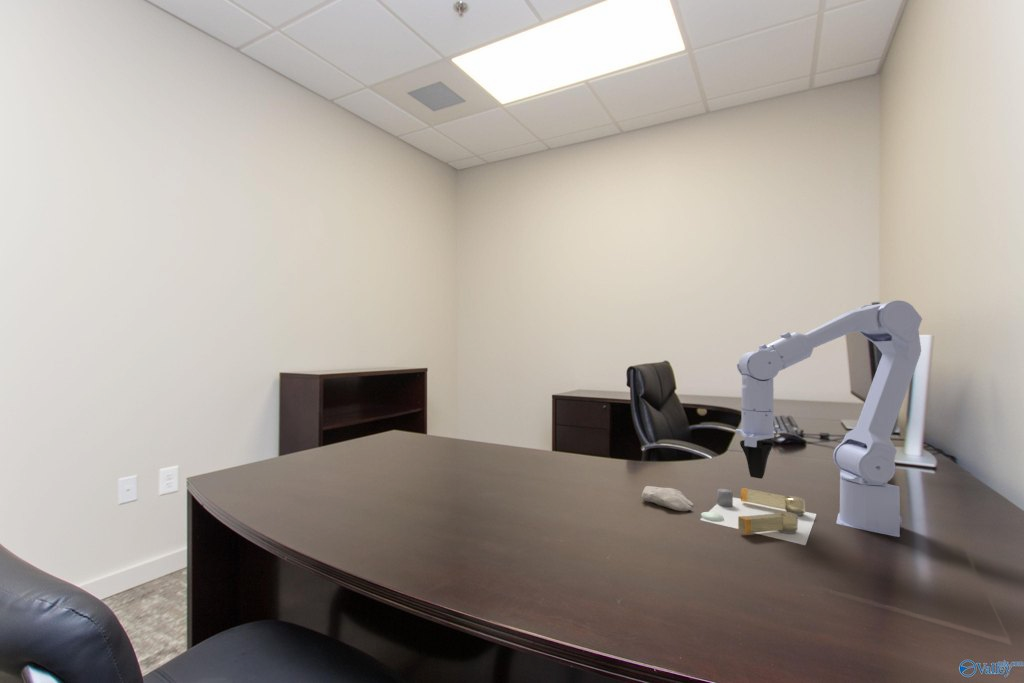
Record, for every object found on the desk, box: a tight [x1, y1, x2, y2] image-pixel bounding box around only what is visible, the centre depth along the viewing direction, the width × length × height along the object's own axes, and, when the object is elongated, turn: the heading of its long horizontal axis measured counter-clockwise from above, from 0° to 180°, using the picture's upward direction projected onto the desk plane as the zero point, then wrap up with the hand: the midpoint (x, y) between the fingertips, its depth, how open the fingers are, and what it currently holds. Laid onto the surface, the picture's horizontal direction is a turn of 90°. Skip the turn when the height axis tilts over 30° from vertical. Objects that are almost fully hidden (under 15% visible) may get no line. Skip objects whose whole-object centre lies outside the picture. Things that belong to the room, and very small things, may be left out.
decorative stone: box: [641, 485, 694, 512], centre depth 101 cm, size 11×4×15 cm
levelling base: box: [699, 488, 817, 546], centre depth 92 cm, size 18×20×4 cm
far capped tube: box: [740, 487, 806, 514], centre depth 97 cm, size 12×4×2 cm, turn 52°
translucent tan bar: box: [737, 511, 798, 535], centre depth 84 cm, size 12×4×2 cm, turn 106°
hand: (756, 477), depth 93 cm, fingers closed
